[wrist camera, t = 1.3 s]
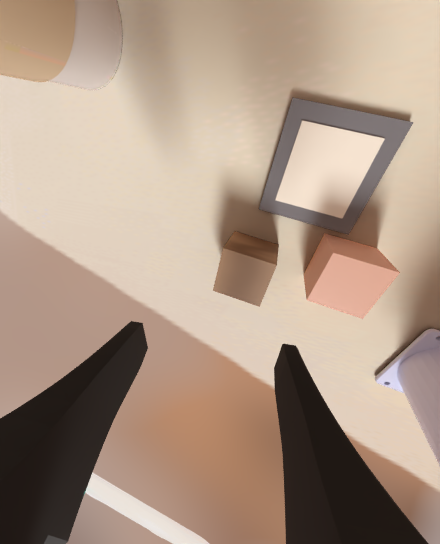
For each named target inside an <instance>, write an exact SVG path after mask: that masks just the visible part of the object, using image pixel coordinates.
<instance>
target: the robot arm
mask: <svg viewBox="0 0 440 544" xmlns="http://www.w3.org/2000/svg"><path fill="white" fill-rule="evenodd" d="M438 336H439V337H438ZM147 349H148V346H147V342H146V338H145V333H144V328H143V323H139V322H132V321H131V322H130V323H129V324H127V325H126V326H125V327H124V328H123V329H122V330H121V331H120V332H118V333H117V334H116V335H115V336H114V337H113V338H111V339H110V340H109V341H108V342H107V343H106V344H105V345H103V346H102V347H101V348H100V349H99V350H97V351H96V352H95V353H94V354H93V355H92V356H90V357H89V358H88V359H87V360H85V361H84V362H83V363H81V364H80V365H79V366H78V367H76V368H75V369H74V370H72V371H71V372H70V373H69V374H67V375H66V376H64V377H63V378H62V379H61V380H59V381H58V382H56V383H55V384H54V385H52V386H51V387H49V388H48V389H46V390H45V391H43V392H42V393H40V394H39V395H37V396H36V397H34V398H33V399H31V400H30V401H28V402H26V403H25V404H23V405H22V406H20V407H19V408H17V409H15V410H14V411H12V412H11V413H9V414H7V415H6V416H4V417H2V418H0V544H66V543H67V542H68V539H69V536H70V533H71V530H72V527H73V524H74V522H75V519H76V516H77V513H78V510H79V507H80V504H81V502H82V499H83V496H84V493H85V491H86V488H87V485H88V482H89V480H90V477H91V474H92V472H93V469H94V466H95V464H96V461H97V459H98V456H99V454H100V451H101V449H102V446H103V444H104V441H105V439H106V437H107V434H108V432H109V429H110V427H111V425H112V422H113V420H114V418H115V416H116V414H117V412H118V410H119V408H120V406H121V404H122V402H123V400H124V398H125V396H126V394H127V392H128V390H129V389H130V387H131V385H132V383H133V381H134V379H135V377H136V375H137V373H138V371H139V369H140V367H141V365H142V362H143V359H144V357H145V354H146V351H147ZM274 377H275V395H276V403H277V411H278V418H279V425H280V434H281V442H282V451H283V469H284V492H285V518H286V519H285V521H286V544H428V543H427V541H426V540H425V539H424V538H423V537H422V535H421V534H420V533H419V532H418V531H417V529H416V528H415V527H414V526H413V524H412V523H411V522H410V521H409V519H408V518H407V517H406V516H405V515H404V513H403V512H402V511H401V509H400V508H399V507H398V506H397V504H396V503H395V502H394V501H393V499H392V498H391V497H390V495H389V494H388V493H387V491H386V490H385V489H384V487H383V486H382V485H381V484H380V482H379V481H378V480H377V479H376V477H375V476H374V474H373V473H372V472H371V470H370V469H369V468H368V466H367V465H366V464H365V462H364V461H363V459H362V458H361V457H360V455H359V454H358V452H357V451H356V449H355V448H354V447H353V445H352V444H351V442H350V441H349V439H348V438H347V436H346V435H345V433H344V432H343V430H342V429H341V427H340V425H339V424H338V422H337V421H336V419H335V417H334V416H333V414H332V413H331V411H330V409H329V408H328V406H327V404H326V403H325V401H324V399H323V397H322V396H321V394H320V392H319V390H318V388H317V387H316V385H315V383H314V381H313V379H312V377H311V375H310V373H309V371H308V370H307V368H306V366H305V363H304V361H303V359H302V357H301V355H300V353H299V351H298V349H297V347H296V346H294V345H288V344H283V345H282V347H281V350H280V353H279V356H278V359H277V362H276V364H275V367H274ZM375 380H376V382H377V383H378V384H381V385H383V386H386V387H389V388H392V389H394V390H397V391H400V392H402V393H405V395H406V398H407V400H408V402H409V404H410V406H411V408H412V410H413V412H414V414H415V416H416V418H417V420H418V422H419V424H420V426H421V428H422V430H423V433H424V435H425V437H426V439H427V441H428V443H429V445H430V447H431V449H432V451H433V453H434V455H435V457H436V459H437V461H438V463H439V465H440V330H436V329H428V330H426V331H424V332H423V333H422V334H421V335H420V336H419V337H418V338H417V339H416V340H415V341H414V342H412V343H411V344H410V345H409V346H408V347H407V348H406V349H405V350H404V351H403V352H402V353H401V354H399V355H398V356H397V357H396V358H395V359H394V360H393V361H392V362H391V363H390V364H389V365H388V366H387V367H385V368H384V369H383V370H382V371H381V372H380V373H379V374H378V375H377V376H376V377H375Z"/></svg>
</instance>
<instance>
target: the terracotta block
mask: <svg viewBox="0 0 440 544" xmlns="http://www.w3.org/2000/svg"><path fill="white" fill-rule="evenodd" d="M399 273H400V272H399V271H398V270H397V269H396V268H395V267H394V266H393V265H392V264H391V263H390V262H389V260H388V259H387V258H386V257H385V256H384V255H383V254H382V253H381V252H380V251H379V250H378V249H377V248H374V247H371V246H367V245H364V244H360V243H357V242H353V241H350V240H347V239H343V238H340V237H336V236H333V235H329V234H326V233H324V235H323V237H322V239H321V241H320V243H319V245H318V247H317V249H316V251H315V253H314V255H313V257H312V259H311V261H310V263H309V265H308V267H307V269H306V271H305V273H304V282H305V290H306V298H307V300H308V301H311V302H314V303H317V304H320V305H323V306H326V307H329V308H332V309H335V310H338V311H341V312H344V313H347V314H350V315H353V316H356V317H359V318H362V319H363V318H364V317H365V315H366V314H367V313H368V312H369V310H370V309H371V308H372V307H373V305H374V304H375V303H376V302H377V300H378V299H379V298H380V297H381V295H382V294H383V293H384V292H385V290H386V289H387V288H388V287H389V286H390V284H391V283H392V282H393V281H394V279H395V278H396V277H397V276H398V274H399Z"/></svg>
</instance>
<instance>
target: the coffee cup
mask: <svg viewBox="0 0 440 544" xmlns="http://www.w3.org/2000/svg"><path fill="white" fill-rule="evenodd" d="M121 51H122V24H121V17H120V11H119V7H118V3H117V0H0V75H4V76H9V77H14V78H19V79H24V80H29V81H34V82H46V81H48V82H53V83H58V84H62V85H67V86H72V87H77V88H81V89H86V90H98V89H101V88H103V87H104V86H106V85H107V84H108V83H109V82H110V81H111V80H112V78H113V76H114V75H115V73H116V71H117V68H118V65H119V62H120V57H121Z"/></svg>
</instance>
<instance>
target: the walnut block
mask: <svg viewBox="0 0 440 544" xmlns="http://www.w3.org/2000/svg"><path fill="white" fill-rule="evenodd" d="M278 246H279V245H278V244H275V243H272V242H269V241H265V240H262V239H259V238H255V237H252V236H249V235H246V234H242V233H239V232H236V231H234V233H233V234H232V236H231V237H230V239H229V240H228V242H227V243H226V245H225V246H224V248H223V251H222V255H221V259H220V263H219V268H218V272H217V276H216V280H215V284H214V289H213V291H216V292H219V293H222V294H225V295H227V296H230V297H233V298H236V299H239V300H242V301H245V302H248V303H251V304H253V305H256V306H259V307H260V304H261V302H262V299H263V297H264V294H265V292H266V290H267V287H268V285H269V282H270V280H271V278H272V275H273V273H274V270H275V268H276V265H277V257H278Z"/></svg>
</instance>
